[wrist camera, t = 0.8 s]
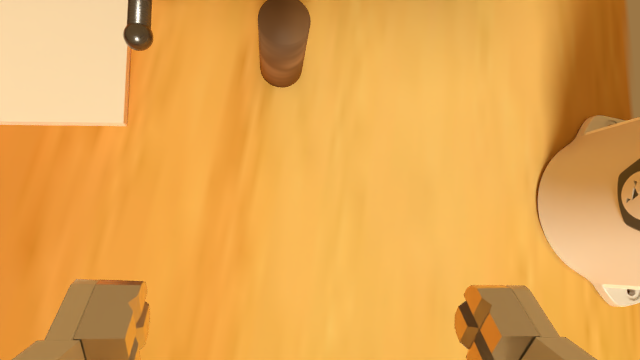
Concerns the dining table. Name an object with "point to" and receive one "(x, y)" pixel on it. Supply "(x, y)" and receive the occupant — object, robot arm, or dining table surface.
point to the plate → (64, 62)
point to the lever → (138, 25)
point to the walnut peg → (282, 40)
